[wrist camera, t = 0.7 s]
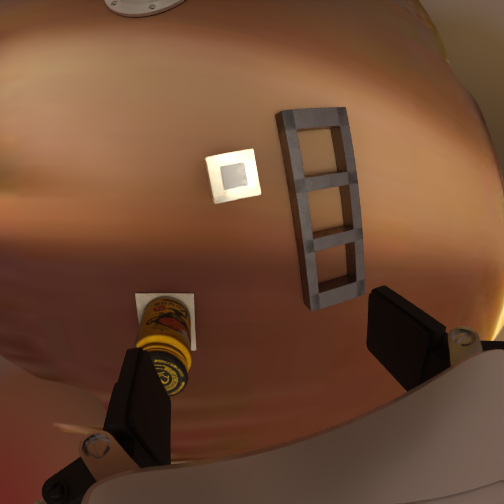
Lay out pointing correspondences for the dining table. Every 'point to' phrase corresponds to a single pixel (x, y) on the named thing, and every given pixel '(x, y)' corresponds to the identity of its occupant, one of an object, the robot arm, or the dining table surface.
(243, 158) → the block
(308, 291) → the grey flat rectangular frame
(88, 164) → the dining table surface
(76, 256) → the dining table surface
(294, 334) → the dining table surface
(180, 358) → the condiment
